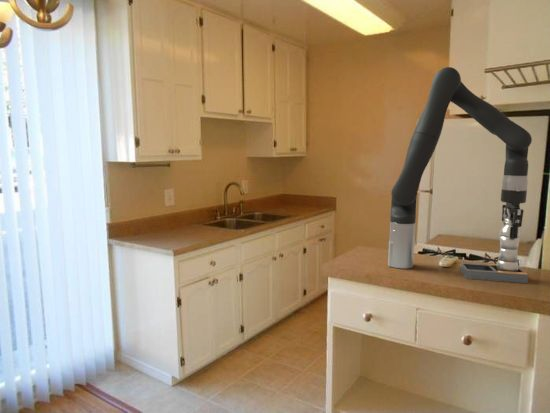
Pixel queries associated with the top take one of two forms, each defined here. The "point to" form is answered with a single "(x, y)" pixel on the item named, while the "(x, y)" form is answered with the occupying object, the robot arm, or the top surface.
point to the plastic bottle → (508, 249)
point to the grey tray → (492, 273)
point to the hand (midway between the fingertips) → (509, 236)
